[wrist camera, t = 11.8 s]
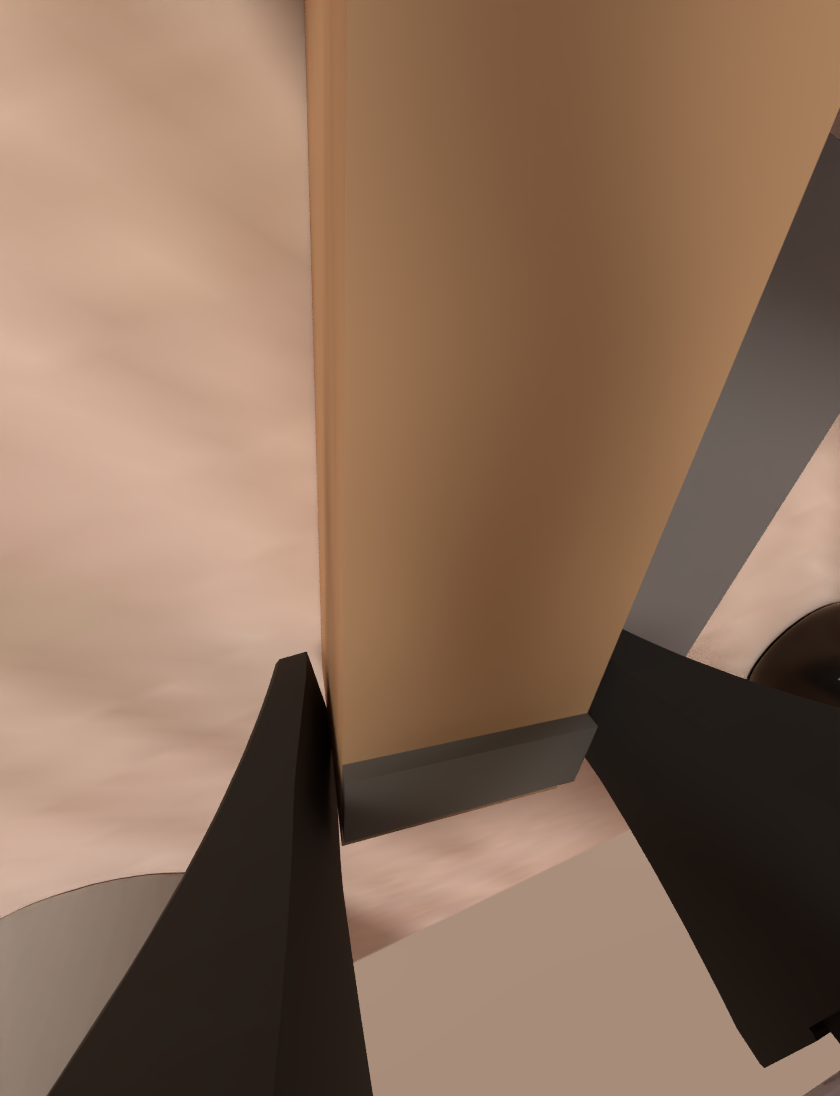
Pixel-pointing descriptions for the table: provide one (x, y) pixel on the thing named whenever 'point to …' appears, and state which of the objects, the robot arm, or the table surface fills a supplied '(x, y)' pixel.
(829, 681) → the supplement bottle
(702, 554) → the pad
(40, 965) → the coffee mug
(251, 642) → the table surface
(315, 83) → the wooden block
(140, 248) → the table surface
